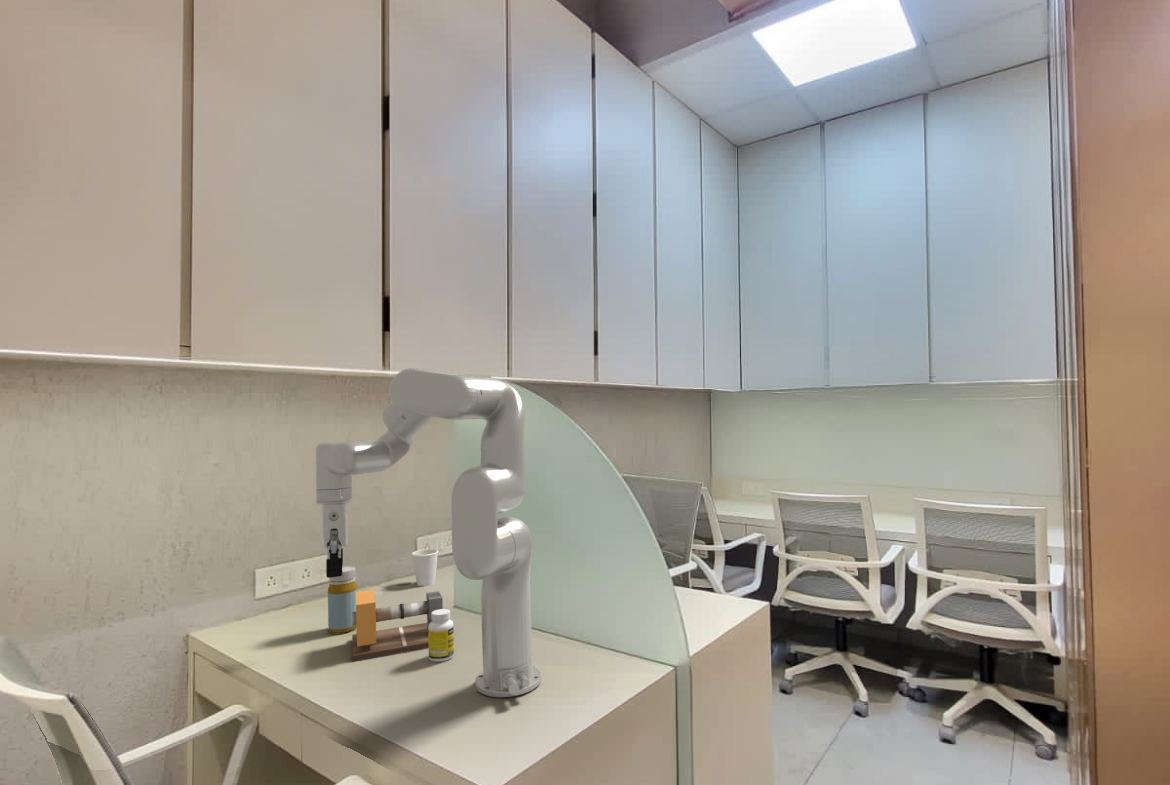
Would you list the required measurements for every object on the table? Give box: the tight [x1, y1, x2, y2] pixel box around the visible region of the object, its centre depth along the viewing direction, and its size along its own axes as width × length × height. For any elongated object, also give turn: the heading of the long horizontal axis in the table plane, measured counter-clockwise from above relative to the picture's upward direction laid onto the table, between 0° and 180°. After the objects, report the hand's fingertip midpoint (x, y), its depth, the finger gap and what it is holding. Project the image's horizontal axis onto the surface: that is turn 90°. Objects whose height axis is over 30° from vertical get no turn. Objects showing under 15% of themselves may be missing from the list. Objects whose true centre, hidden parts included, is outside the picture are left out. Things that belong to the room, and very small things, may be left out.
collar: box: [356, 589, 377, 647], centre depth 135 cm, size 11×4×9 cm, turn 22°
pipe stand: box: [351, 590, 444, 662], centre depth 137 cm, size 14×20×10 cm
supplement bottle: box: [428, 608, 455, 663], centre depth 127 cm, size 5×5×10 cm
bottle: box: [327, 565, 359, 634], centre depth 148 cm, size 7×7×15 cm
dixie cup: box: [411, 548, 439, 587], centre depth 187 cm, size 8×8×10 cm
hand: (335, 571), depth 133 cm, fingers open, 9 cm apart
